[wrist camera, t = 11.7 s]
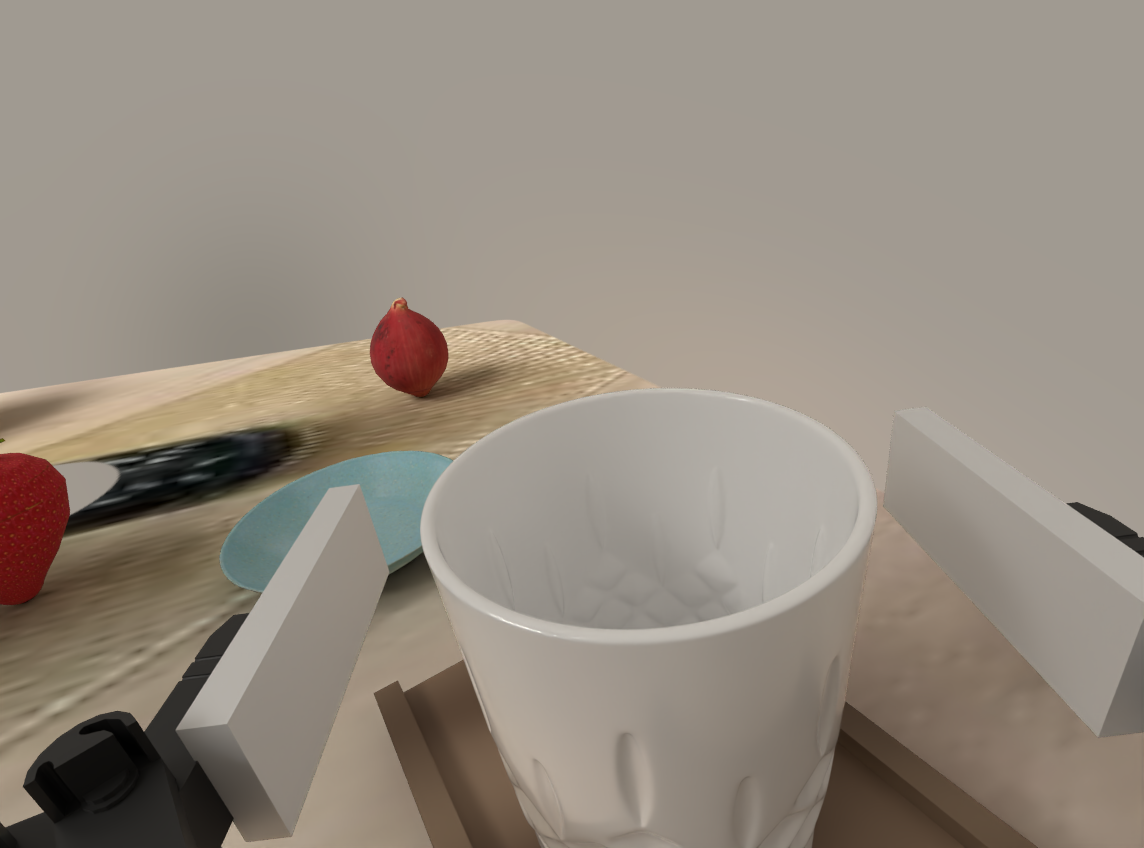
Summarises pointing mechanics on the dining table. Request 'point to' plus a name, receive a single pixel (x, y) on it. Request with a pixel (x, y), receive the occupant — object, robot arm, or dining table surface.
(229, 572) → the saucer
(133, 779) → the robot arm
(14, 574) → the strawberry
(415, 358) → the red rounded fruit
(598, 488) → the white cup
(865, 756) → the walnut board
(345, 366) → the dining table surface
